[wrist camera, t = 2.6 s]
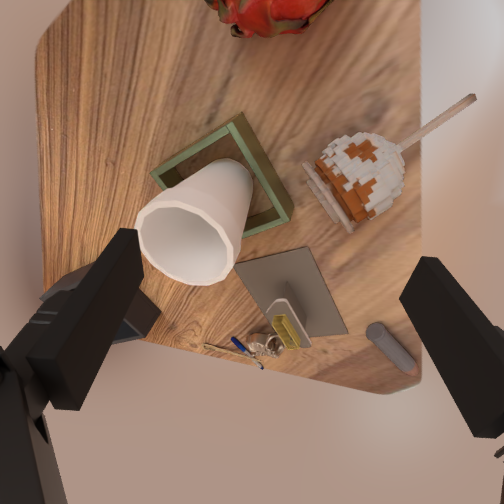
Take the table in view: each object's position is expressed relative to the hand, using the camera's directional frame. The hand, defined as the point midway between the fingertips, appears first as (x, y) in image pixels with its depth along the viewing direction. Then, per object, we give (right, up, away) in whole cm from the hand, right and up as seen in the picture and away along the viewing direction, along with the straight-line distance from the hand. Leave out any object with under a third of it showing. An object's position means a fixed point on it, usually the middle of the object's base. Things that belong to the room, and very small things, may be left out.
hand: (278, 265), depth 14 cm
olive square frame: (-4, +9, +22) cm, 24 cm away
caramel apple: (+5, +5, +15) cm, 16 cm away
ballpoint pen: (-2, -19, +43) cm, 47 cm away
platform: (+5, -7, +32) cm, 33 cm away
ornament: (+2, -14, +38) cm, 41 cm away
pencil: (+21, -13, +32) cm, 41 cm away
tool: (-5, -20, +45) cm, 49 cm away
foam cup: (-4, +9, +22) cm, 24 cm away
